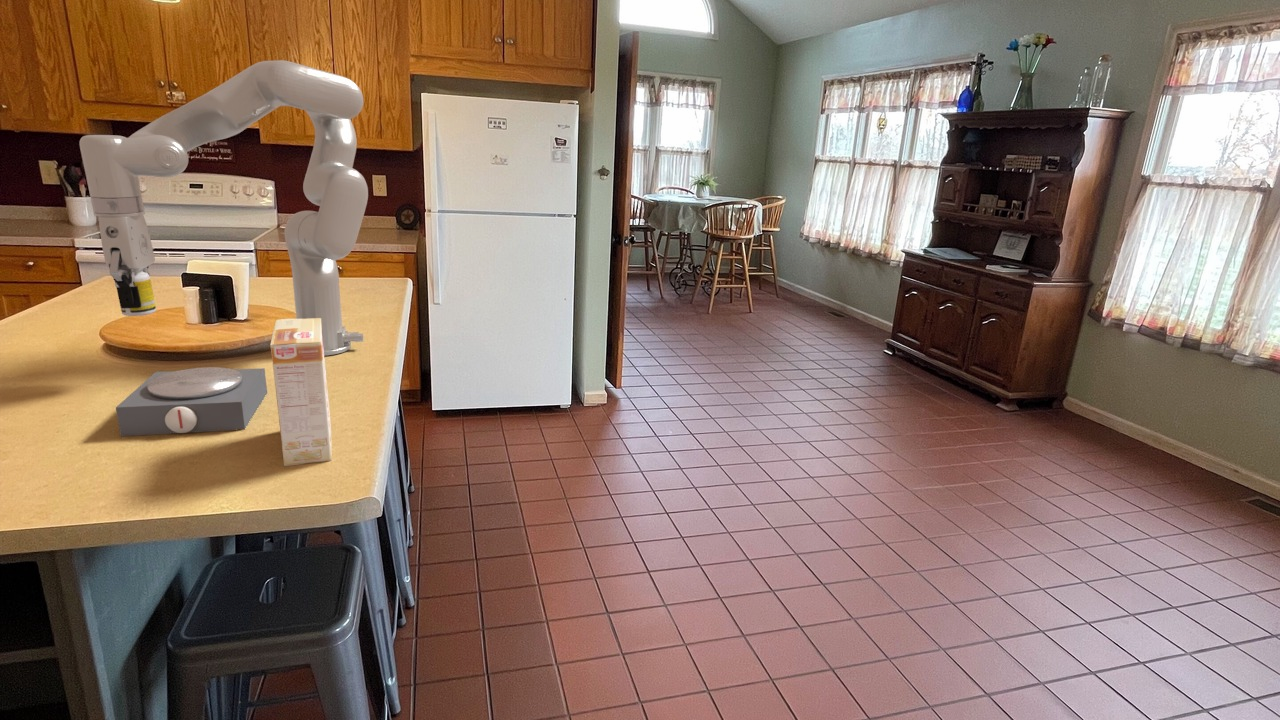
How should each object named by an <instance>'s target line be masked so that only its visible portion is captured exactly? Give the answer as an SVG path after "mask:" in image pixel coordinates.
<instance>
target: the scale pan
mask: <svg viewBox="0 0 1280 720" xmlns="http://www.w3.org/2000/svg"><path fill="white" fill-rule="evenodd" d="M233 369H234V368H229V367H227V368H226V367H220V366H219V367H217V366H215V367H212V366H211V367H209V366H207V367H206V366H205V367H194V368H186V369H181V370H176V371H175V370H174V371H175V372H171V373H167V374H164V375H161V376H158V377H156V378H154V379H152V380H151V381H149V383H148V384H147V387H148V392H149V394H150V395H152V396H154V397H158V398H164V399H193V398H202V397H208V396H213V395H217V394H221V393H224V392H227V391H230V390H232V389H234V388H236V387H238V386H239V385H240V384H241V383H242V375H241V373H240V372H238V371H236V370H233Z"/></svg>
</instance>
